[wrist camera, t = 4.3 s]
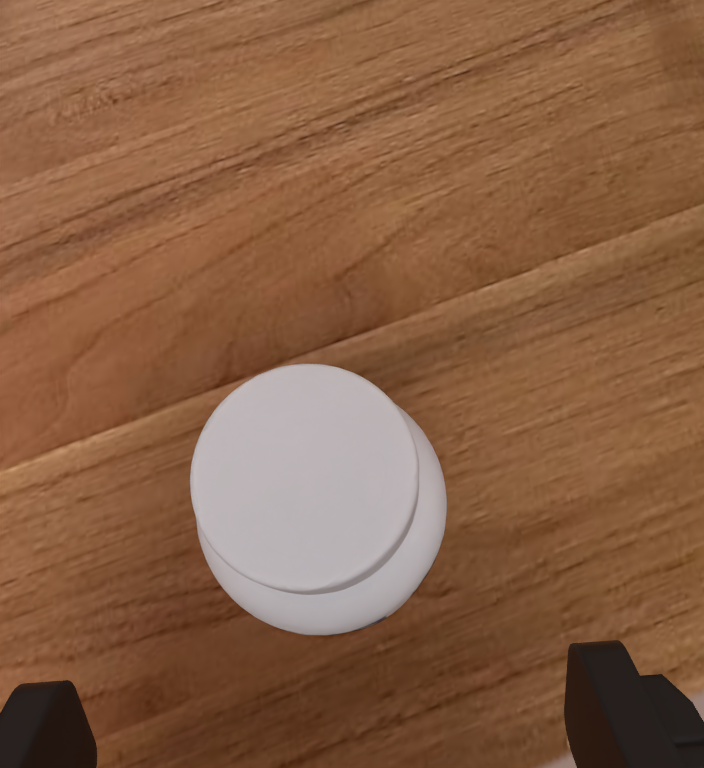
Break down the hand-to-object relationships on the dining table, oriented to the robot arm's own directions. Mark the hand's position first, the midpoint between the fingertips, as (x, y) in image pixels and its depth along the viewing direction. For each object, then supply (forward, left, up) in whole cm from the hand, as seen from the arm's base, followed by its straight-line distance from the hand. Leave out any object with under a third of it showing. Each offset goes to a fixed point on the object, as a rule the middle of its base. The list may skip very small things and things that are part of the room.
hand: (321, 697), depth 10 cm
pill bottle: (+2, -3, -9) cm, 10 cm away
